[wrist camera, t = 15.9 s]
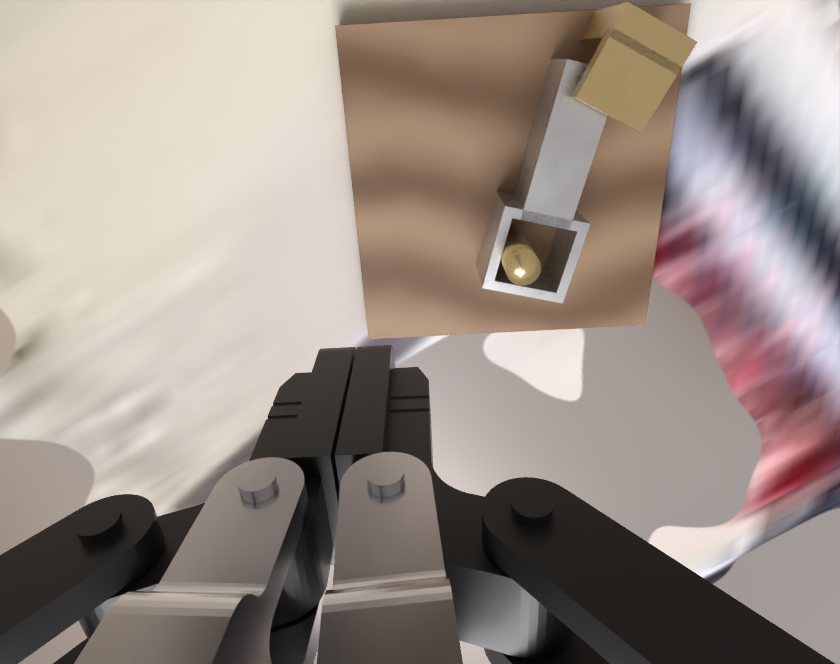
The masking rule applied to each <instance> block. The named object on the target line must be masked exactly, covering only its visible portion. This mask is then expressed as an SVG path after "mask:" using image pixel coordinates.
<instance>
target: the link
mask: <svg viewBox="0 0 840 664" xmlns="http://www.w3.org/2000/svg"><path fill="white" fill-rule="evenodd" d="M587 66H588V64H586V63H581V62H577V61H573V60H569V59H550V62H549V66H548V69H547V73H546V77H545V80H544V84H543V87H542V91H541V94H540V98H539V102H538V105H537V109H536V112H535V116H534V120H533V123H532V127H531V130H530V134H529V138H528V141H527V145H526V148H525V152H524V156H523V159H522V163H521V166H520V170H519V173H518V177H517V181H516V184H515V188H514V191H513V195H512V194H508V193H503V192H498V191H496V193H495V197H494V201H493V205H492V209H491V212H490V216H489V220H488V224H487V227H486V231H485V235H484V239H483V243H482V246H481V250H480V254H479V258H478V261H477V265H476V267H477V271H478V274H479V278H480V281H481V285H482V288H484V289H489V290H495V291H500V292H505V293H510V294H516V295H521V296H526V297H531V298H536V299H542V300H547V301H552V302H557V303H562V304H563V301H564V298H565V296H566V293H567V290H568V287H569V284H570V281H571V278H572V276H573V273H574V270H575V267H576V264H577V261H578V258H579V255H580V253H581V250H582V247H583V244H584V241H585V238H586V235H587V233H588V230H589V227H590V223H589V222H588V221H587V220H586V219H585V218H584V217H583V216H582V215H581V214H580V213H579V212H578V211H577V210H576V209H577V206H578V203H579V200H580V197H581V194H582V191H583V188H584V185H585V182H586V179H587V176H588V173H589V170H590V167H591V164H592V161H593V158H594V155H595V152H596V149H597V146H598V143H599V140H600V137H601V134H602V131H603V128H604V125H605V122H606V119H607V115H605V114H603V113H601V112H599V111H598V110H596V109H594V108H592V107H590V106H588V105H586V104H584V103H583V102H581V101H579V100H577V99H575V98H573V97H571V96H572V94H573V92H574V90H575V88H576V87H577V85H578V83H579V81H580V79H581V77H582V75H583V74H584V72H585V70H586V68H587ZM512 218H514V219H519V220H523V221H528V222H533V223H538V224H543V225H548V226H553V227H557V230H556V233H555V236H554V239H553V242H552V246H551V249H550V252H549V255H548V258H547V261H546V264H545V267H544V270H543V271H542V270H541V272H540V275H539V277H538V278H537V279H536V280H535V281H534V282H532V283H531V284H528V285H524V286H521V285H516V284H514V283H512V282H511V281H510V280H509V279H508V277H507V275H506V272H505V270H504V267H503V265H502V263H501V262H500V259H501V256H502V252H503V249H504V245H505V242H506V238H507V235H508V231H509V228H510V224H511V221H512Z"/></svg>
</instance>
